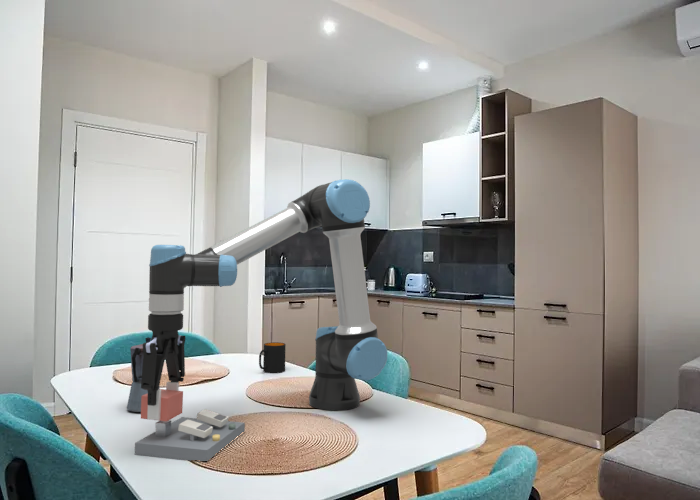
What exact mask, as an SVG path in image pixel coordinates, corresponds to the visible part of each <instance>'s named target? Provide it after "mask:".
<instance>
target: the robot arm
mask: <svg viewBox="0 0 700 500" xmlns="http://www.w3.org/2000/svg"><path fill="white" fill-rule="evenodd" d="M370 207H371V200H370V197H369V193H368V192H367V190H366V189H365V187H364V186H363V185H362V184H361V183H360V182H357V181H356V180H353V179H337V180H333V181H331V182H328V183H324V184H320V185H317V186H316V187H314V188H312V189H310V190H309V191H307V192H306V193H304V194H303V195H300V196H299V197H298V198H296V199H294V200H292V201H291V202H288V204H287V206H286V208H284V209H282V210H281V211H279V212H276V213H274V214H273V215H271V216H269V217H267V218H264V219H263V220H261V221H259V222H257V223H255V224H253V225H251V226H249V227H247V228H244V230H241V231H239V232H238V233H235V234H232V235H231V236H229V237H227V238H225V239H223V240H221V241H219V242H218V243H215V244H213V245H211V246H209V247H208V248H206V249H204V250H202V251H200V252H198V253H195V254H192V253H190V254H189V253H187V251H186V247H185V246H184V245H181V244H180V245H179V244H177V245H176V244H155V245H153V246H152V248H151V249H150V257H149V258H150V260H149V265H148V266H149V280H148V281H149V283H148V285H149V286H148V289H149V290H148V292H149V293H148V294H149V295H148V296H149V297H148V311H149V312H151V313H149V314H148V316H147V317H148V318H147V329H148V330H149V331H150V332H152V336H151V337H150V338H151V341H150V342H149V343H146V342H143V343H142V344H143V353H144V355H143V367H142V379H141V388H142V389H144V390H147V391H148V401H147V403H148V414H147V419H146V420H150V421H151V420H152V421H158V420H160V414H161V390H160V389H161V388H160V389H159V386H160V383H161V380H162V374H163V370H164V365H166V371H167V376H168V381H166V385H165V386H166V387H165V388H166V389H165V390H175V391H180V390H179V388H180V387H179V386H180V385H179V384H180V383H179V382H181V383H183V382H184V380H185V379H184V377H185V375H186V369H185V368H186V367H185V366H186V365H185V359H186V358H185V345H186V343H185V342H186V336H185V335H181V334H180V335H179V332H178V331H181V330H182V329H184V314H183V313H182V312H183V311H184V310H185V309H184V305H185V303H184V301H185V294H184V293H185V287H220V288H221V287H231V286H233V285H234V284H235V283H236V281H237V278H238V265H240V264H241V263H243V262H245V261H247V260H249V259H251V258H252V257H254V256H256V255H258V254H260V253H262V252H264V251H266V250H269V248H271V247H274V246H276V245H277V244H279V243H281V242H282V241H284V240H287V239H288V238H290V237H292V236H294V235H296V234H298V233H299V232H300V233H303V234H305V233H307V232H308V231H311V230H313V229H315V228H320V227H321V228H322V229H321V230H322V233H323V235H325V236H326V237H327V238H328V241H329V249H330V257H331V265H332V272H333V273H332V274H333V281H334V291H335V298H336V299H335V300H336V306H337V315H338V322H339V323H338V325H337V326H335V325H334V326H320V327H318V328H317V329H316V333H315V373H314V374H315V377H314V381H313V383H312V387H311V390H310V392H309V396H308V404H309V406H310V407H312V408H315V409H320V410H325V411H345V410H351V409H355V408H358V407H359V405H360V404H361V396H360V392H359V390H358V389H359V388H358V385H357V383H356V380H361V381H369V380H372V379H374V378H376V377H377V376H379V375H380V374H381V373H382V371H383V369H384V368H385V367H386V364H387V360H388V349H387V346H386V345H385V342H383V341H382V340H381V339H379V335H378V328H377V325H376V324H375V323H374V322H372V320H371V315H370V307H369V298H368V297H369V296H368V289H367V280H366V272H365V264H364V255H363V247H362V240H361V234H362V232H363V231H364V230H365V229H366V226H365V223H366V222H365V218H366V217H367V215H368V214H369V211H370ZM157 354H158V355H157ZM154 384H155V385H154Z"/></svg>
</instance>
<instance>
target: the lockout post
mask: <svg viewBox="0 0 700 500" xmlns="http://www.w3.org/2000/svg"><path fill="white" fill-rule="evenodd" d="M171 423H172V419H170V420H168V421H158V420H157V422H155V431H154V432H155V436H158V437H166V436H168V435H170V434H171Z"/></svg>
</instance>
